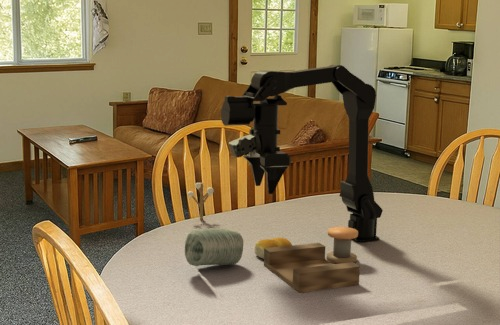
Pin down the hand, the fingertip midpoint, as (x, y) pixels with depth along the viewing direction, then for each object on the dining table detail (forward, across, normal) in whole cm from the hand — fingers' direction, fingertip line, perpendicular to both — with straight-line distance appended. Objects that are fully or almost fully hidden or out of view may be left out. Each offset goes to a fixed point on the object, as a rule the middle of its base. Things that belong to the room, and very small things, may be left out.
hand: (264, 189), depth 159 cm
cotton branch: (+15, -28, -8) cm, 33 cm away
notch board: (+15, +19, +4) cm, 24 cm away
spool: (+16, +9, -16) cm, 24 cm away
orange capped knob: (+15, +11, +16) cm, 25 cm away
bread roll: (+16, +2, +3) cm, 16 cm away
